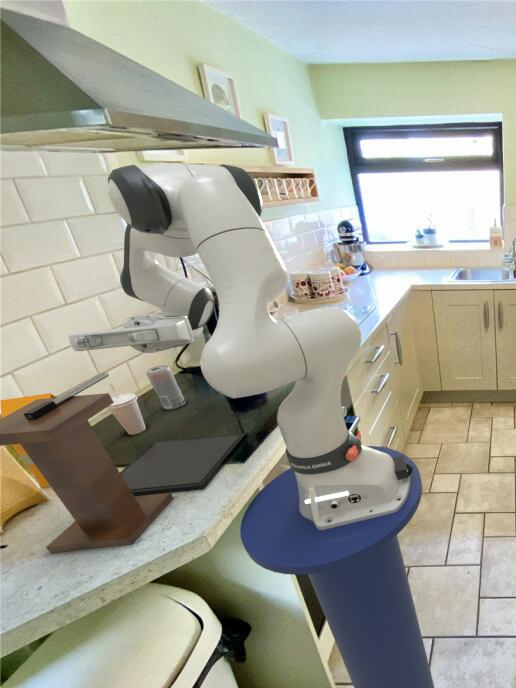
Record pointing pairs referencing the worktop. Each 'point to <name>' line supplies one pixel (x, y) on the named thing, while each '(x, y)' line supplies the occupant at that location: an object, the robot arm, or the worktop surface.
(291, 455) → the robot arm
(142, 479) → the tablet
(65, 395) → the stylus
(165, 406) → the energy drink
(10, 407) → the orange juice
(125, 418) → the smoothie
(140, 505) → the brown wooden pedestal
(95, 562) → the worktop surface
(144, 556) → the worktop surface
